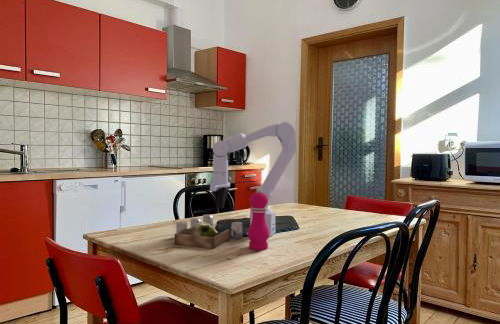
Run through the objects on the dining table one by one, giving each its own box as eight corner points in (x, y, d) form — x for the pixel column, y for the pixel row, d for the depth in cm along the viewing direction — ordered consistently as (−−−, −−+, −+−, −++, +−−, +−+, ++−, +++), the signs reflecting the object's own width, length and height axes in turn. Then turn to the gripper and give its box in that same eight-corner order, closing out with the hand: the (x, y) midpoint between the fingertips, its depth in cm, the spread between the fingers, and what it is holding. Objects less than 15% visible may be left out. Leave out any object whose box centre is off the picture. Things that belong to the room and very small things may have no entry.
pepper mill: (262, 251, 122) (262, 189, 121) (243, 248, 126) (243, 188, 125) (273, 246, 128) (273, 187, 128) (254, 243, 132) (255, 186, 131)
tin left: (244, 237, 141) (244, 222, 141) (240, 239, 138) (240, 224, 137) (234, 236, 143) (234, 221, 142) (229, 238, 139) (229, 223, 139)
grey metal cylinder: (214, 228, 156) (214, 214, 156) (210, 230, 152) (210, 216, 152) (205, 227, 157) (205, 214, 157) (201, 229, 153) (201, 215, 153)
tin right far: (189, 236, 141) (189, 222, 141) (183, 239, 137) (183, 224, 137) (179, 235, 143) (179, 221, 142) (174, 238, 139) (174, 223, 139)
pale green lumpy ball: (210, 249, 128) (206, 226, 126) (189, 247, 132) (184, 225, 131) (225, 238, 135) (221, 216, 134) (204, 237, 140) (200, 216, 139)
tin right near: (202, 232, 148) (202, 218, 148) (198, 234, 144) (198, 220, 144) (193, 231, 150) (193, 217, 149) (188, 233, 146) (188, 219, 146)
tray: (230, 239, 138) (230, 229, 138) (213, 248, 125) (213, 238, 125) (194, 235, 143) (194, 226, 143) (174, 244, 130) (174, 234, 130)
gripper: (218, 170, 154) (218, 204, 155) (202, 173, 140) (202, 210, 141) (235, 171, 152) (234, 205, 152) (220, 174, 138) (220, 211, 139)
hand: (220, 207), depth 146 cm, fingers closed
